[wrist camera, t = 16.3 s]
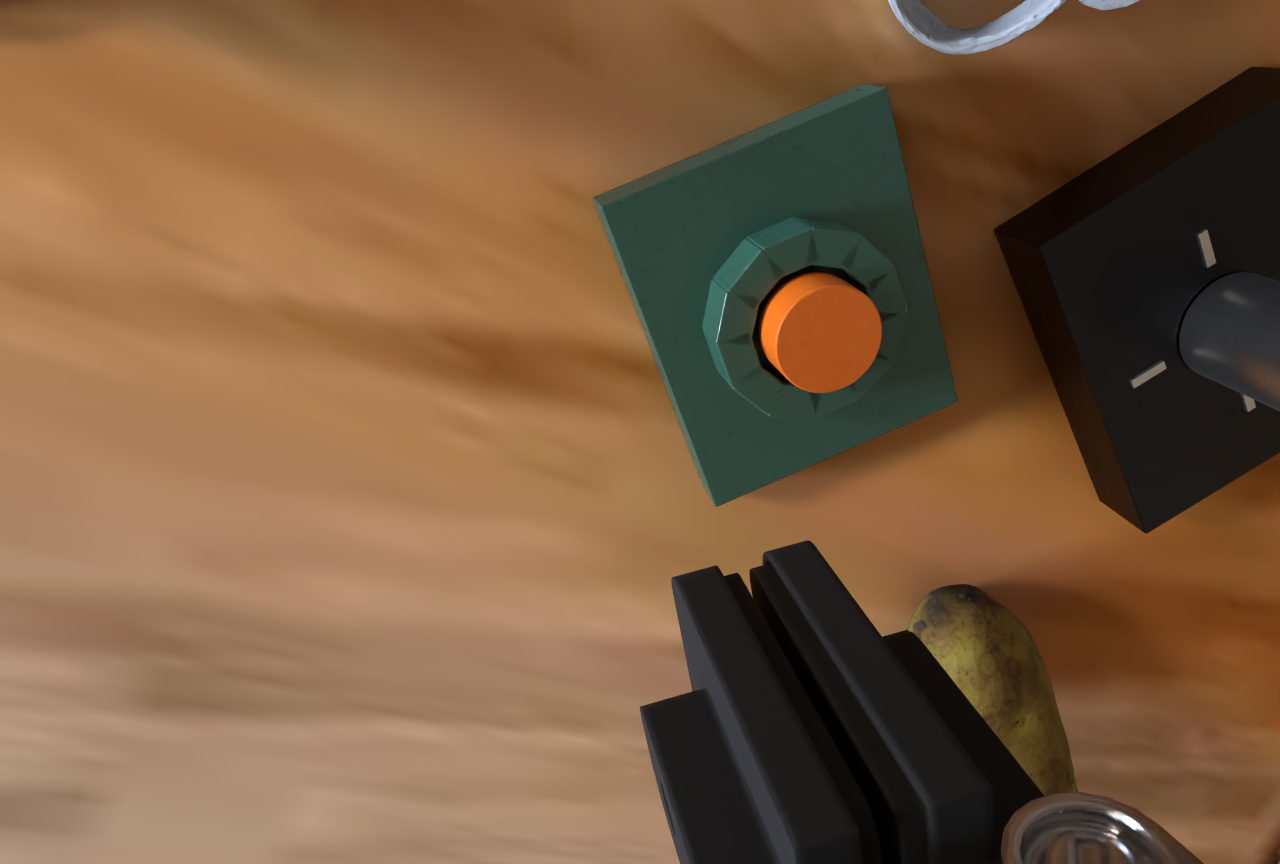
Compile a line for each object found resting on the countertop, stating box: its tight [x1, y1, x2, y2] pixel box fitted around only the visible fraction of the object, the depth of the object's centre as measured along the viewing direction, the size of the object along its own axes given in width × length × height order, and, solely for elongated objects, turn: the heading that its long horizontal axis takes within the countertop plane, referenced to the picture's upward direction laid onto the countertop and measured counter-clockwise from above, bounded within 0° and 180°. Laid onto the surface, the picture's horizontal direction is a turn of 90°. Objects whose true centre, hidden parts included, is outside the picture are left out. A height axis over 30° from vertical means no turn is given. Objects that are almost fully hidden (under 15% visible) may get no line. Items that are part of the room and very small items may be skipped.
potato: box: [907, 584, 1078, 796], centre depth 40 cm, size 8×13×8 cm, turn 173°
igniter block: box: [593, 84, 958, 507], centre depth 33 cm, size 12×10×4 cm
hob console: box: [994, 67, 1280, 534], centre depth 37 cm, size 14×11×3 cm
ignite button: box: [759, 272, 882, 393], centre depth 31 cm, size 4×4×2 cm
